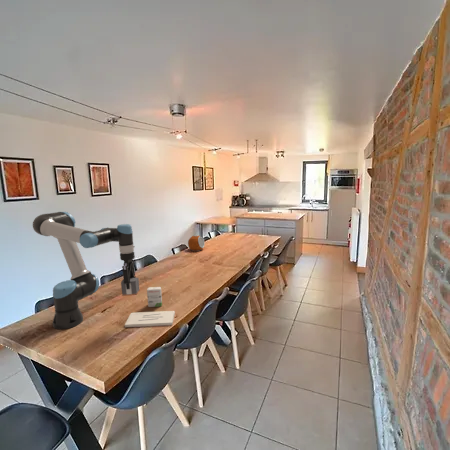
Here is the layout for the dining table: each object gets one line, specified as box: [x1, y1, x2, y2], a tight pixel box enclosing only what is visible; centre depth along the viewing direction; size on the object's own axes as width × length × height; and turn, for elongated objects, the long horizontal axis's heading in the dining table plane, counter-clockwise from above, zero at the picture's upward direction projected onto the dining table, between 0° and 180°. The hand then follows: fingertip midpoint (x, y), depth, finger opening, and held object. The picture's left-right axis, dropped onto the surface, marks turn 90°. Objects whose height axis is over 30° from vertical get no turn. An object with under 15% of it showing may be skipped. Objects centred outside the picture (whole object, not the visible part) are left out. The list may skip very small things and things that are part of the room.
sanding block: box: [120, 277, 141, 297], centre depth 156 cm, size 8×6×8 cm
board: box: [124, 310, 176, 328], centre depth 161 cm, size 26×14×2 cm, turn 94°
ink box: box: [146, 286, 163, 308], centre depth 179 cm, size 9×5×12 cm, turn 96°
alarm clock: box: [187, 234, 205, 252], centre depth 319 cm, size 19×18×17 cm
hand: (131, 291), depth 157 cm, fingers closed on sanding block, 6 cm apart
